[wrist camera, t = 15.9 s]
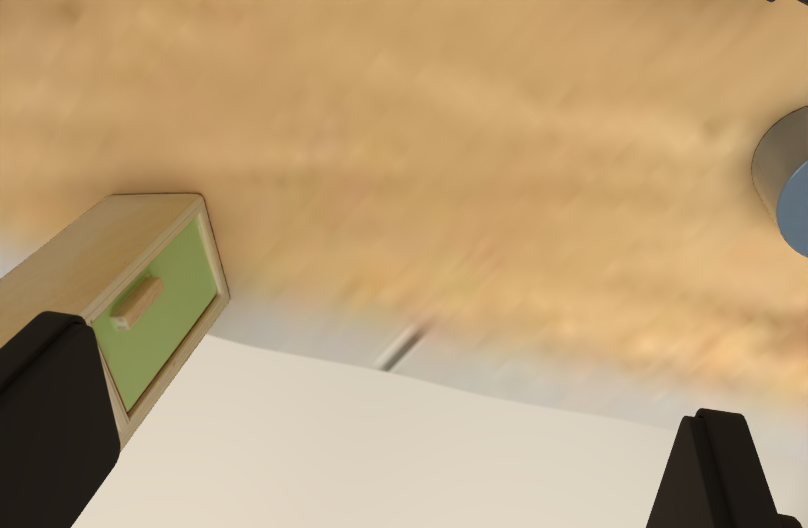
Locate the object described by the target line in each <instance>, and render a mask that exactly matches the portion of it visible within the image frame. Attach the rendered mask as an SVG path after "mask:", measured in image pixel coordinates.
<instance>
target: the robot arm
mask: <svg viewBox="0 0 808 528" xmlns="http://www.w3.org/2000/svg"><path fill="white" fill-rule="evenodd" d="M120 449H121V444H120V438H119V434H118V430H117V426H116V421H115V417H114V413H113V409H112V404H111V400H110V396H109V391H108V387H107V383H106V379H105V374H104V370H103V366H102V361H101V357H100V353H99V349H98V344H97V340H96V336H95V332H94V330H93V328H92V327H91V326H88V325H87V323H86V321H85V319H84V318H83V317H82V316H79V315H74V314H67V313H60V312H54V311H43V312H41V313H40V314H38V315H37V316H36V317H35V318H33V319H32V320H31V321H30V322H29V323H28V324H27V325H26V326H25V327H23V328H22V329H21V330H20V331H19V332H18V333H17V334H16V335H15V336H14V337H12V338H11V339H10V340H9V341H8V342H7V343H6V344H5V345H4V346H2V347H1V348H0V528H71V527H72V525H73V524H74V522H75V521H76V519H77V518H78V517H79V515H80V514H81V512H82V511H83V510H84V508H85V507H86V505H87V504H88V502H89V501H90V500H91V498H92V497H93V496H94V494H95V493H96V491H97V490H98V488H99V487H100V486H101V484H102V483H103V482H104V480H105V479H106V477H107V476H108V475H109V473H110V472H111V470H112V469H113V468H114V466H115V464H116V463H117V460H118V458H119V454H120ZM646 528H802V526H801V524H800V522H799V521H798V520H797V519H796V518H795V517H792V516H788V515H782V514H778V513H777V510H776V508H775V505H774V502H773V499H772V496H771V493H770V490H769V487H768V484H767V481H766V478H765V475H764V472H763V469H762V466H761V463H760V460H759V457H758V454H757V451H756V448H755V445H754V443H753V440H752V437H751V434H750V431H749V428H748V425H747V422H746V420H745V418H744V416H743V415H742V414H738V413H731V412H725V411H718V410H711V409H705V408H701V409H699V410H698V411H697V413H696V415H695V417H691V416H684V417H683V418H682V421H681V423H680V426H679V429H678V432H677V435H676V438H675V441H674V445H673V448H672V450H671V453H670V456H669V459H668V462H667V465H666V468H665V471H664V475H663V477H662V481H661V484H660V487H659V490H658V493H657V496H656V499H655V502H654V505H653V508H652V511H651V514H650V517H649V520H648V523H647V526H646Z"/></svg>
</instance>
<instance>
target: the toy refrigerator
mask: <svg viewBox="0 0 808 528" xmlns="http://www.w3.org/2000/svg"><path fill="white" fill-rule="evenodd" d="M229 300H230V296H229V292H228V288H227V284H226V281H225V277H224V273H223V270H222V266H221V263H220V259H219V255H218V251H217V248H216V244H215V240H214V237H213V233H212V229H211V225H210V222H209V218H208V214H207V210H206V207H205V203H204V199H203V197H202V196H201V195H198V194H136V195H111V196H107V197H105V198H104V199H102V200H101V201H100V202H99V203H97V204H96V205H95V206H93V207H92V208H91V209H90V210H88V211H87V212H86V213H84V214H83V215H82V216H81V217H79V218H78V219H77V220H76V221H74V222H73V223H72V224H70V225H69V226H68V227H66V228H65V229H64V230H63V231H61V232H60V233H59V234H58V235H56V236H55V237H54V238H52V239H51V240H50V241H49V242H47V243H46V244H45V245H44V246H42V247H41V248H40V249H38V250H37V251H36V252H35V253H33V254H32V255H30V256H29V257H28V258H27V259H26V260H24V261H23V262H22V263H20V264H19V265H18V266H17V267H15V268H14V269H13V270H11V271H10V272H9V273H8V274H6V275H5V276H4V277H3V278H1V279H0V348H1V347H2V346H4V345H5V344H6V343H7V342H8V341H9V340H10V339H11V338H12V337H14V336H15V335H16V334H17V333H18V332H19V331H20V330H21V329H22V328H23V327H25V326H26V325H27V324H28V323H29V322H30V321H31V320H32V319H33V318H35V317H36V316H37V315H38V314H40V313H41V312H43V311H54V312H60V313H67V314H74V315H79V316H82V317H83V318H84V319H85V321H86V323H87V325H88V326H91V327H92V328H93V330H94V332H95V336H96V340H97V344H98V349H99V353H100V357H101V361H102V366H103V370H104V374H105V379H106V383H107V387H108V391H109V396H110V400H111V404H112V409H113V413H114V417H115V421H116V426H117V430H118V434H119V438H120V444H121V449H120V452H121V451H122V449H123V448H124V447H125V445H126V444H127V442H128V441H129V440H130V438H131V437H132V435H133V434H134V432H135V431H136V429H137V428H138V427H139V426H140V424H141V423H142V422H143V420H144V419H145V417H146V416H147V415H148V413H149V412H150V410H151V409H152V408H153V406H154V405H155V403H156V402H157V401H158V399H159V398H160V397H161V395H162V394H163V393H164V391H165V390H166V388H167V387H168V386H169V384H170V383H171V382H172V380H173V379H174V378H175V376H176V375H177V373H178V372H179V371H180V369H181V368H182V366H183V365H184V364H185V362H186V361H187V359H188V358H189V357H190V355H191V354H192V352H193V351H194V350H195V348H196V347H197V346H198V344H199V343H200V342H201V340H202V339H203V337H204V336H205V334H206V333H207V332H208V330H209V329H210V328H211V326H212V325H213V323H214V322H215V321H216V319H217V318H218V316H219V315H220V314H221V312H222V311H223V309H224V308H225V306H226V305H227V304H228V302H229Z"/></svg>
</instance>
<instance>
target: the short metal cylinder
mask: <svg viewBox="0 0 808 528" xmlns="http://www.w3.org/2000/svg"><path fill="white" fill-rule="evenodd" d="M752 179H753V183H754V186H755V189H756V191H757V192H758V194H759V196H760V198H761V199H762V201H763V203H764V205H765V207H766V208H767V210H768V212H769V214H770V215H771V217H772V219H773V221H774V222H775V224H776V226H777V228H778V229H779V231H780V233H781V235H782V236H783V238H784V240H785V241H786V242H787V243H788V244H789V246H791V247H792V248H793V249H794V250H795V251H797V252H798V253H800V254H801V255H803V256H805V257H807V258H808V106H807V107H804V108H802V109H799V110H797V111H795V112H793V113H791V114H789V115H787V116H786V117H784V118H783V119H781V120H780V121H779V122H778V123H776V124H775V125H774V126H773V127H772V128H771V129H770V130H769V131H768V132H767V133H766V135H765V136H764V137H763V139H762V140H761V142H760V143H759V145H758V147H757V149H756V152H755V154H754V158H753V161H752Z"/></svg>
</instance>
